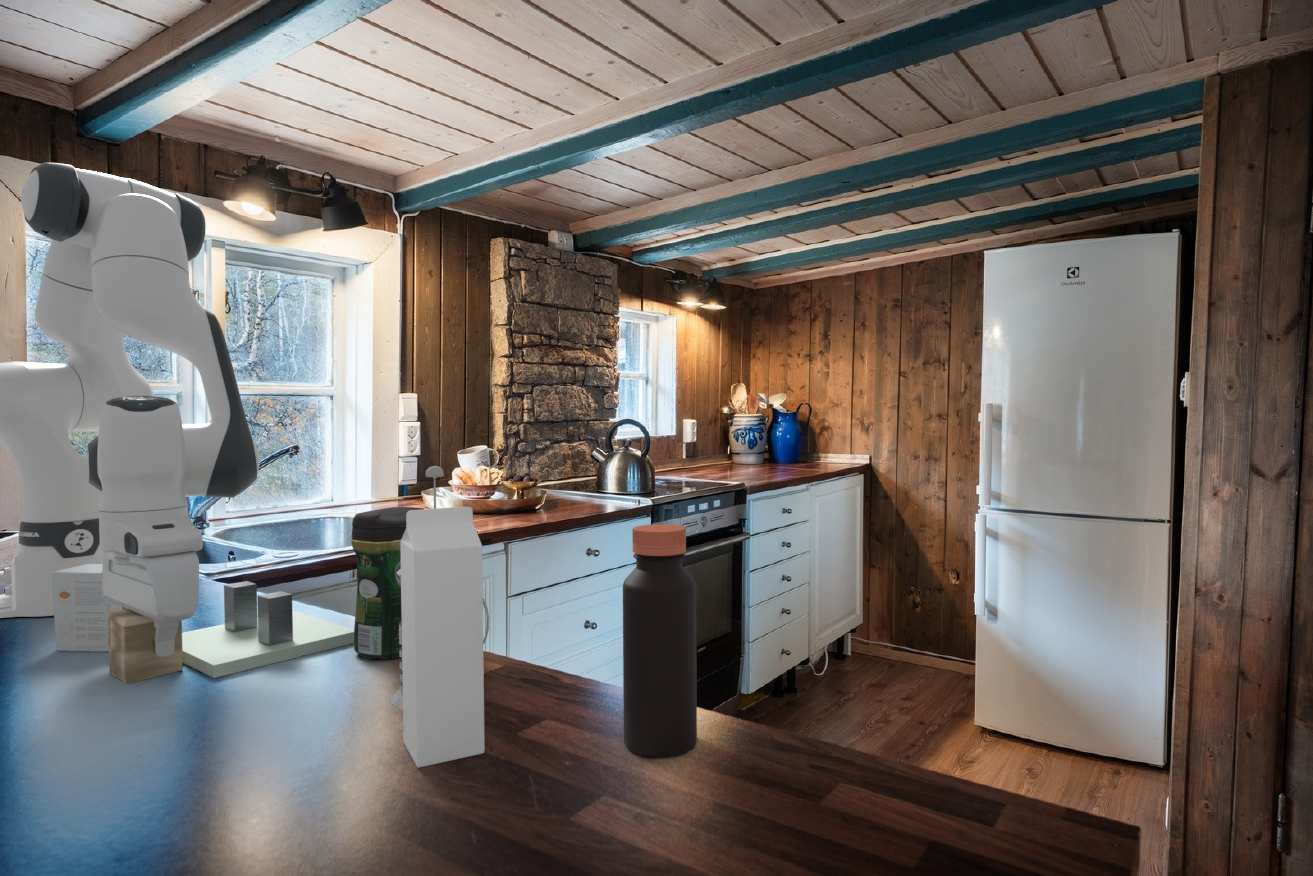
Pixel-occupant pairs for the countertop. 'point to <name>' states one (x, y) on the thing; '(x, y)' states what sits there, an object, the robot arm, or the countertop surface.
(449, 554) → the milk
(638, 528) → the bottle
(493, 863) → the countertop surface
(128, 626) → the wood grain cuboid
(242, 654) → the board
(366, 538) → the coffee jar
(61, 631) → the small box
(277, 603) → the post
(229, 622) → the post
